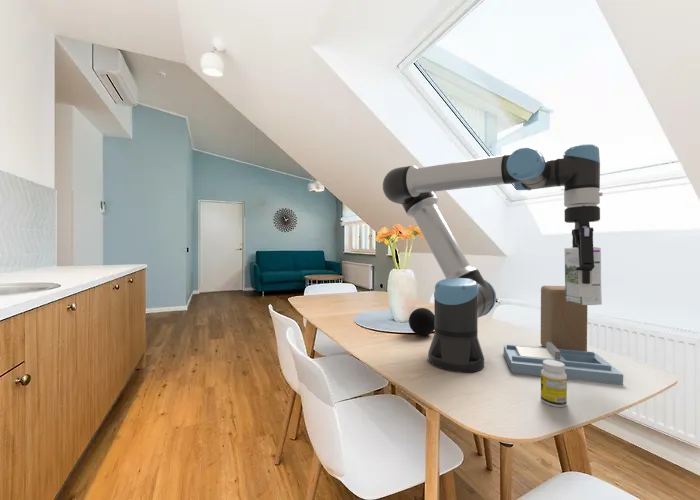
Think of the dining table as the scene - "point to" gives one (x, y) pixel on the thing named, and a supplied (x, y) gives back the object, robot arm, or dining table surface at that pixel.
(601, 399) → the dining table surface
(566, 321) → the wooden block
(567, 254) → the syrup box
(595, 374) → the compartment tray
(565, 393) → the supplement bottle
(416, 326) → the decorative ball
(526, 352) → the cover
